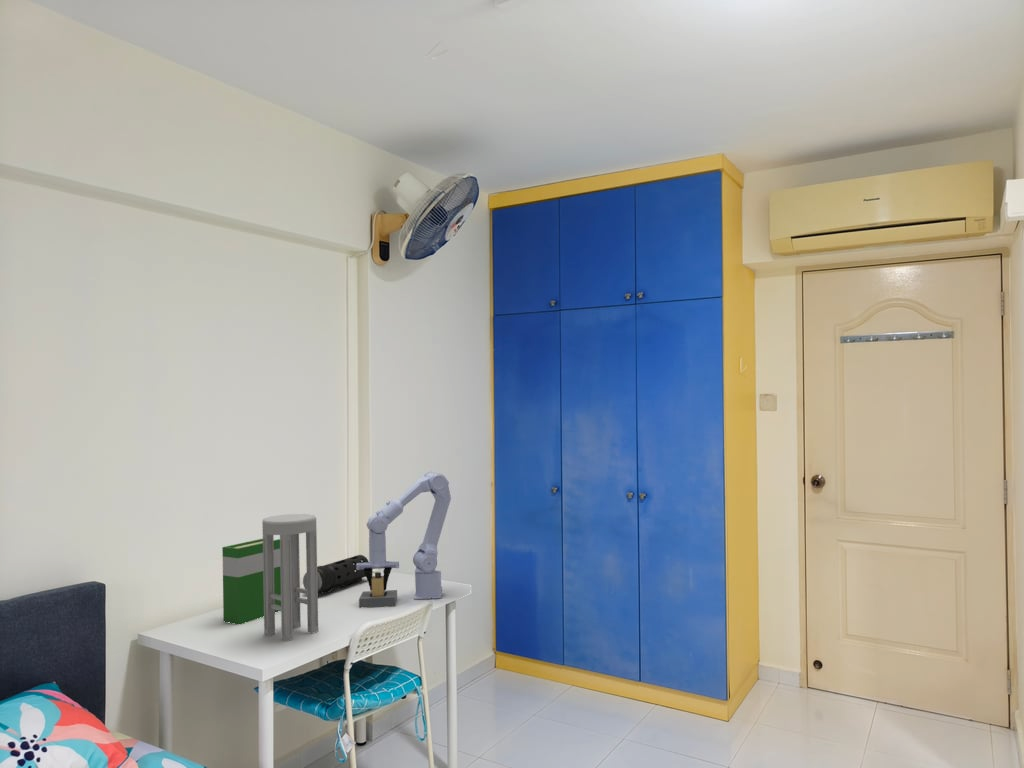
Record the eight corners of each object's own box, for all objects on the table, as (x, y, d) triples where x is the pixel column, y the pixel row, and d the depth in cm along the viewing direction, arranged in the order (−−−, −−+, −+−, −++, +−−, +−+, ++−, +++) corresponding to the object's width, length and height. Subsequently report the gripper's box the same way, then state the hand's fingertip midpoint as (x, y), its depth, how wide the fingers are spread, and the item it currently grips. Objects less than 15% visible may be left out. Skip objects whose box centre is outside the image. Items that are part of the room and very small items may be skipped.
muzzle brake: (370, 581, 287) (370, 554, 287) (321, 599, 262) (321, 570, 262) (351, 579, 291) (351, 553, 292) (301, 596, 266) (300, 567, 267)
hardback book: (266, 608, 252) (265, 537, 252) (282, 610, 248) (280, 539, 249) (223, 621, 236) (222, 547, 237) (239, 624, 233) (237, 548, 233)
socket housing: (397, 598, 260) (397, 589, 260) (394, 606, 250) (394, 597, 250) (363, 600, 259) (362, 591, 259) (359, 607, 249) (359, 598, 249)
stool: (298, 622, 233) (296, 512, 234) (328, 631, 224) (325, 515, 225) (254, 635, 221) (252, 518, 222) (283, 644, 212) (281, 523, 213)
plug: (384, 592, 256) (384, 571, 256) (383, 595, 252) (383, 573, 252) (373, 593, 256) (372, 571, 256) (371, 596, 252) (371, 574, 252)
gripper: (354, 553, 250) (355, 593, 250) (397, 551, 251) (398, 591, 251) (357, 549, 257) (358, 588, 257) (399, 547, 258) (400, 586, 258)
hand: (378, 589), depth 254 cm, fingers closed on plug, 4 cm apart
